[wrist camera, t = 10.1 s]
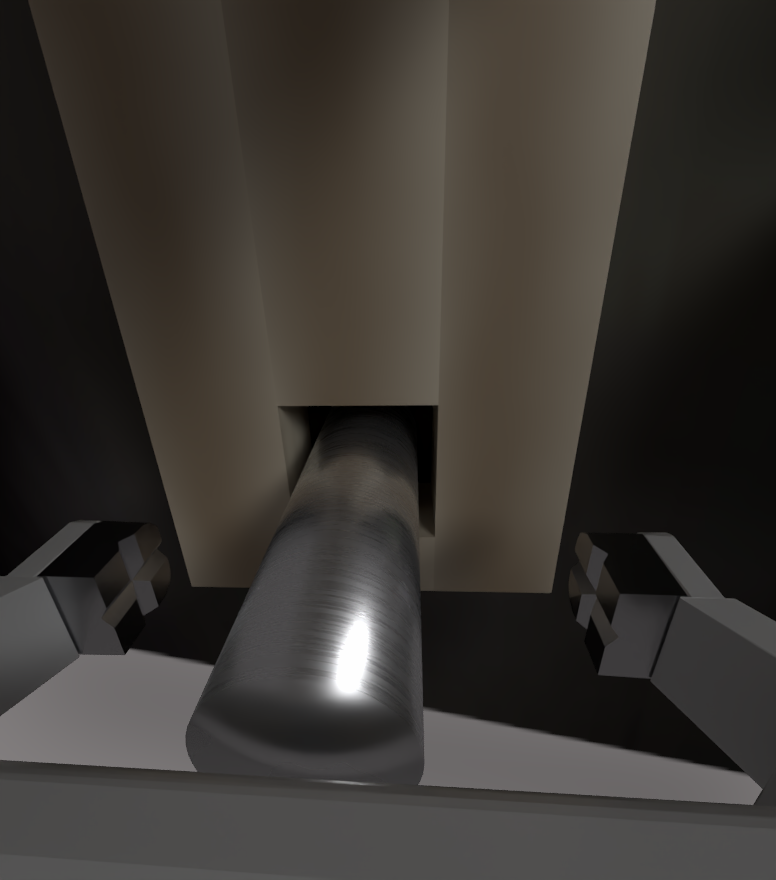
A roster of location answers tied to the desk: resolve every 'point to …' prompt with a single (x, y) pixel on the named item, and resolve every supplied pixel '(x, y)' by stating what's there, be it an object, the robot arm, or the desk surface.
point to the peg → (329, 622)
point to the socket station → (356, 245)
